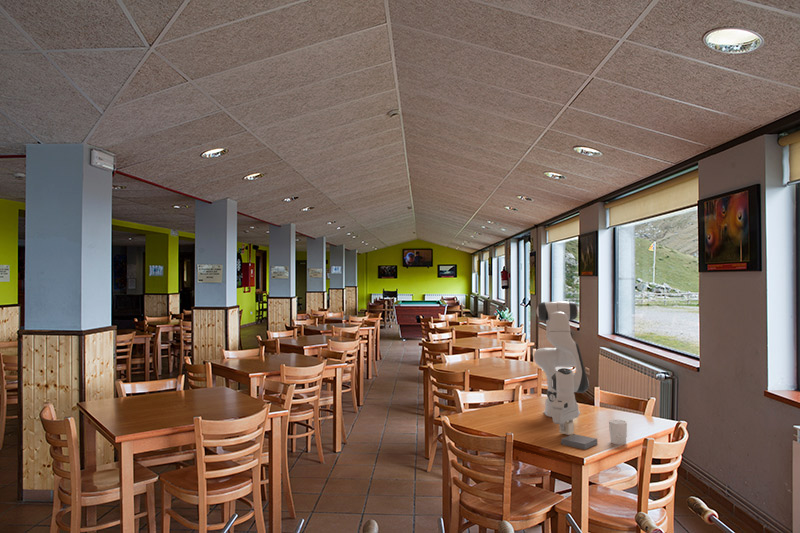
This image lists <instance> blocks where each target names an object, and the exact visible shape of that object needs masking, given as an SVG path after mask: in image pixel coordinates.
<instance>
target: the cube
mask: <svg viewBox="0 0 800 533" xmlns="http://www.w3.org/2000/svg"><path fill="white" fill-rule="evenodd" d="M558 425H559V426H558V427H559V431H558V432H559V434H563V435H567V436H570V435H572V434H575V432H574V428H575V426H574V422H573V423H572V422H568V421H567V422H565V424H564V427H566V430H565V431H561V427H560V424H558Z"/></svg>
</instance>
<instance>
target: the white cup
mask: <svg viewBox="0 0 800 533" xmlns="http://www.w3.org/2000/svg"><path fill="white" fill-rule="evenodd" d="M608 426H609V438H610V443H611V444H614V445H617V446H618V445H619V446H624V445H626V444H627V437H628V433H627V432H628V429H627V428H628V422H627V421H626V420H623V419H609V420H608Z"/></svg>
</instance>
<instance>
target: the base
mask: <svg viewBox="0 0 800 533" xmlns="http://www.w3.org/2000/svg"><path fill="white" fill-rule="evenodd" d="M560 444H561V445H563V446H567V447H572V448H576V449H580V450H588V449H590V448H592V447H594V446H597V445H598V438H595V437H590V436H585V435H580V434H576V433H572V434H570V435H567V436H565V437H562V438H561V439H560Z"/></svg>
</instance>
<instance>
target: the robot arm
mask: <svg viewBox="0 0 800 533" xmlns="http://www.w3.org/2000/svg"><path fill="white" fill-rule="evenodd" d="M578 314H579V308H578V305H577V303H576V302H574V301H565V300H556V301H547V302H546V301H544V302H543V301H542V302H539V303H538V304H537V307H536V315H537V317H538V320H540V321H541V322H545V323H546V324H545V325H546V326H545V331H546V334H545V335H546V336H545V337H546V339H547V341H548V343H550V344H551V345H552V346H553V347H540V348H537V349H536V350H535V352H534V353H533V360H534V362H535V364H536V365H537V366H538V367H540V368H541V369H542V370H543V372H544V374H545V376H546V381H547V382H546V383H547V390H546V396H547V398H545V407H544V410H543V414H544V415H545V416H546V417H549V418H552V422H553V423H554V424H557V425H559V424H560V427H561V431H565V430H566V427H564V424H565V422H572V423H573V424H574V419H577V418H579V416H580V414H581V411H580V409H579V405H578V403H577V400H576V395H575V393H579V394H584V393H585V392H587V391H588V390H589V387H590V383H589V379H588V376H587V372H586V370H585V365H584V361H583V357H582V354H581V350H580V347H579V344H578V342H576V341H575V340H574V339H573V336H572V334H571V333H572V332H571V325H570V321H574V320H576V319H577V317H578ZM571 367H575V371H576V372H573V370H572V369H569V368H571ZM556 368H558V369H556Z"/></svg>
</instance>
